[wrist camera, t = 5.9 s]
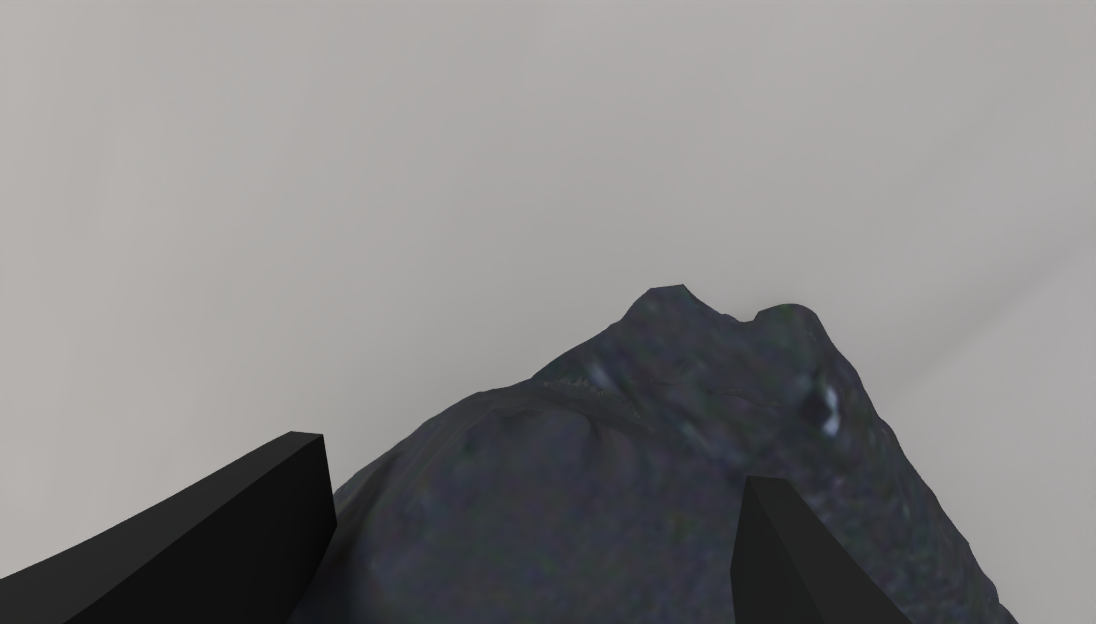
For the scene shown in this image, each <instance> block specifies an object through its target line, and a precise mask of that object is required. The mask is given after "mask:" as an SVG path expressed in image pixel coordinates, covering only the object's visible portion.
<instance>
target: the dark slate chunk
mask: <svg viewBox="0 0 1096 624" xmlns="http://www.w3.org/2000/svg"><path fill="white" fill-rule="evenodd" d="M747 475H750V476H760V477H771V478H781V479H786V480H787V481H788V482H789V483H790V484H791V485H792V487H793V488H794V489H795V490H796V491H797V492H798V494H799V495H800V496H801V497H802V498H803V500H804V501H805V502H806V503H807V504H808V506H809V507H810V508H811V509H812V511H813V512H814V513H815V514H816V515H817V517H818V518H819V519H820V520H821V521H822V523H823V524H824V525H825V526H826V527H827V529H828V530H829V531H830V532H831V533H832V534H833V536H834V537H835V538H836V539H837V540H838V542H839V543H840V544H841V545H842V546H843V547H844V549H845V550H846V551H847V552H848V553H849V554H850V556H851V557H852V558H853V559H854V560H855V561H856V562H857V563H858V565H859V566H860V567H861V568H862V569H863V570H864V571H865V572H866V574H867V575H868V576H869V577H870V578H871V579H872V580H873V581H874V582H875V584H876V585H877V586H878V587H879V588H880V589H881V590H882V591H883V592H884V594H885V595H886V596H887V597H888V598H889V599H890V600H891V601H892V602H893V603H894V604H895V605H896V606H897V607H898V608H899V610H900V611H901V612H902V613H903V614H904V615H905V616H906V617H907V618H908V619H909V620H910V621H911V622H912V623H913V624H1018V622H1017V621H1016V620H1015V618H1014V617H1013V616H1012V615H1011V613H1010V612H1009V611H1008V610H1007V609H1006V608H1005V607H1004V606H1003V605H1002V604H1000V603H999V598H998V594H997V590H996V587H995V585H994V584H993V582H992V581H991V580H990V579H989V578H988V577H987V576H986V575H985V574H984V573H983V571H982V570H981V568H980V567H979V565H978V563H977V561H976V559H975V557H974V555H973V553H972V551H971V549H970V546H969V543H968V541H967V540H966V539H965V538H964V537H963V536H962V535H961V533H960V532H959V531H958V530H957V528H956V527H955V526H954V524H953V523H952V521H951V520H950V519H949V517H948V516H947V515H946V513H945V512H944V511H943V509H942V508H941V506H940V504H939V502H938V500H937V498H936V496H935V494H934V493H933V491H932V490H931V489H930V488H929V487H928V486H927V484H926V483H925V482H924V481H923V480H922V478H921V477H920V476H919V474H918V473H917V471H916V470H915V469H914V467H913V466H912V465H911V463H910V462H909V461H908V459H907V458H906V456H905V455H904V453H903V451H902V449H901V447H900V444H899V442H898V440H897V438H896V435H895V433H894V432H893V430H892V429H891V427H890V426H889V425H888V424H887V423H886V422H885V421H884V420H882V419H881V418H880V417H879V416H878V414H877V412H876V411H875V409H874V407H873V404H872V402H871V400H870V398H869V396H868V394H867V393H866V391H865V389H864V387H863V385H862V382H861V379H860V377H859V375H858V373H857V371H856V370H855V368H854V367H853V366H852V365H851V363H850V362H849V361H848V360H847V359H846V358H845V357H844V356H843V355H842V354H841V353H840V352H839V351H838V350H837V348H836V347H835V346H834V344H833V343H832V341H831V340H830V338H829V336H828V335H827V333H826V331H825V329H824V327H823V325H822V324H821V322H820V320H819V318H818V317H817V315H816V314H815V313H814V312H813V311H812V310H810V309H808V308H807V307H805V306H802V305H798V304H782V305H777V306H774V307H771V308H768V309H765V310H762V311H760V312H758V314H757V315H756V317H755V319H754V320H753V321H749V322H739V321H738V320H736V319H735V318H733V317H732V316H730V315H727V314H720V313H719V312H717V311H716V310H714V309H712V308H711V307H709V306H708V305H706V304H705V303H703V302H702V301H700V300H699V299H697V298H696V297H695V296H694V295H693V294H692V293H691V292H690V291H689V290H688V289H687V288H686V287H685V286H684V284H682V285H675V286H667V287H658V288H650V289H649V290H648V291H647V292H646V293H644V294H643V295H642V296H641V297H640V298H639V299H637V300H636V301H635V302H634V303H633V305H632V306H631V307H630V308H629V310H628V311H627V313H626V314H625V315H624V317H623V318H622V319H621V320H620V321H618V322H616V323H613V324H611V325H610V326H609V327H608V328H607V329H605V330H604V331H602V332H601V333H599V334H598V335H596V336H594V337H593V338H591V339H589V340H587V341H586V342H584V343H582V344H580V345H578V346H576V347H574V348H572V349H571V350H569V351H567V352H565V353H564V354H562V355H561V356H559V357H558V358H556V359H555V360H553V361H552V362H550V363H549V364H548V365H546V366H545V367H544V368H542V369H541V370H540V371H538V372H537V373H536V374H535V375H534V376H533V377H532V378H530V379H528V380H525V381H522V382H519V383H517V384H515V385H512V386H509V387H504V388H498V389H492V390H488V391H485V392H477V393H475V394H473V395H470V396H468V397H466V398H465V399H463V400H461V401H459V402H458V403H456V404H454V405H452V406H451V407H449V408H447V409H446V410H445V411H443V412H442V413H440V414H438V415H436V416H434V417H432V418H430V419H429V420H427V421H426V422H424V423H423V424H422V425H421V426H420V427H419V428H418V429H417V430H415V431H414V432H413V433H412V434H411V435H410V436H408V437H407V438H405V439H404V440H402V441H400V442H399V443H398V444H397V445H395V446H394V447H393V448H392V449H390V450H389V451H388V452H386V453H384V454H383V455H382V456H380V457H379V458H377V459H376V460H374V461H373V462H371V463H370V464H368V465H367V466H366V467H364V468H363V469H361V470H360V471H358V472H357V473H356V474H355V475H354V476H353V477H352V478H351V479H350V480H348V481H347V482H346V483H345V484H343V485H342V486H341V487H340V488H339V489H337V491H336V492H335V493H334V494H333V500H334V506H335V512H336V518H337V528H336V530H335V532H334V535H333V537H332V539H331V541H330V544H329V546H328V548H327V550H326V553H325V555H324V557H323V559H322V561H321V563H320V565H319V567H318V569H317V571H316V573H315V575H314V577H313V580H312V581H311V583H310V585H309V586H308V588H307V590H306V591H305V593H304V594H303V596H302V598H301V599H300V601H299V603H298V604H297V606H296V607H295V609H294V611H293V612H292V614H291V616H290V617H289V619H288V620H287V622H286V624H735V615H734V607H733V597H732V587H731V578H730V567H731V561H732V555H733V550H734V544H735V539H736V533H737V527H738V522H739V516H740V511H741V505H742V499H743V494H744V488H745V483H746V477H747Z"/></svg>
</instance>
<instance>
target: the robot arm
mask: <svg viewBox="0 0 1096 624" xmlns="http://www.w3.org/2000/svg"><path fill="white" fill-rule="evenodd" d="M336 528H337V518H336V512H335V506H334V500H333V493H332V487H331V481H330V475H329V468H328V462H327V456H326V450H325V443H324V437H323V434H314V433H304V432H293V431H290V432H288V433H286V434H284V435H282V436H280V437H278V438H276V439H274V440H272V441H270V442H268V443H266V444H264V445H263V446H261V447H259V448H257V449H255V450H253V451H252V452H250V453H248V454H246V455H244V456H243V457H241V458H239V459H237V460H235V461H234V462H232V463H230V464H228V465H227V466H225V467H223V468H221V469H220V470H218V471H216V472H214V473H212V474H211V475H209V476H207V477H205V478H203V479H202V480H200V481H198V482H196V483H194V484H193V485H191V486H189V487H187V488H185V489H184V490H182V491H180V492H178V493H177V494H175V495H173V496H171V497H169V498H167V499H166V500H164V501H162V502H160V503H158V504H156V505H154V506H152V507H150V508H148V509H146V510H144V511H143V512H141V513H139V514H137V515H135V516H133V517H131V518H129V519H127V520H125V521H123V522H121V523H119V524H117V525H116V526H114V527H112V528H110V529H108V530H106V531H104V532H102V533H100V534H98V535H96V536H94V537H92V538H90V539H88V540H86V541H84V542H82V543H80V544H78V545H76V546H74V547H71V548H69V549H67V550H65V551H63V552H61V553H59V554H57V555H54V556H52V557H50V558H48V559H45V560H43V561H41V562H39V563H36V564H34V565H32V566H30V567H27V568H25V569H23V570H21V571H18V572H16V573H14V574H12V575H9V576H7V577H5V578H2V579H0V624H286V622H287V620H288V619H289V617H290V616H291V614H292V612H293V611H294V609H295V607H296V606H297V604H298V603H299V601H300V599H301V598H302V596H303V594H304V593H305V591H306V590H307V588H308V586H309V585H310V583H311V581H312V580H313V577H314V575H315V573H316V571H317V569H318V567H319V565H320V563H321V561H322V559H323V557H324V555H325V553H326V550H327V548H328V546H329V544H330V541H331V539H332V537H333V535H334V532H335V530H336ZM730 578H731V587H732V597H733V607H734V615H735V624H913V623H912V622H911V621H910V620H909V619H908V618H907V617H906V616H905V615H904V614H903V613H902V612H901V611H900V610H899V608H898V607H897V606H896V605H895V604H894V603H893V602H892V601H891V600H890V599H889V598H888V597H887V596H886V595H885V594H884V592H883V591H882V590H881V589H880V588H879V587H878V586H877V585H876V584H875V582H874V581H873V580H872V579H871V578H870V577H869V576H868V575H867V574H866V572H865V571H864V570H863V569H862V568H861V567H860V566H859V565H858V563H857V562H856V561H855V560H854V559H853V558H852V557H851V556H850V554H849V553H848V552H847V551H846V550H845V549H844V547H843V546H842V545H841V544H840V543H839V542H838V540H837V539H836V538H835V537H834V536H833V534H832V533H831V532H830V531H829V530H828V529H827V527H826V526H825V525H824V524H823V523H822V521H821V520H820V519H819V518H818V517H817V515H816V514H815V513H814V512H813V511H812V509H811V508H810V507H809V506H808V504H807V503H806V502H805V501H804V500H803V498H802V497H801V496H800V495H799V494H798V492H797V491H796V490H795V489H794V488H793V487H792V485H791V484H790V483H789V482H788V481H787V480H786V479H781V478H771V477H760V476H750V475H747V477H746V483H745V488H744V494H743V499H742V505H741V511H740V516H739V522H738V527H737V533H736V539H735V544H734V550H733V555H732V561H731V567H730Z"/></svg>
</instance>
